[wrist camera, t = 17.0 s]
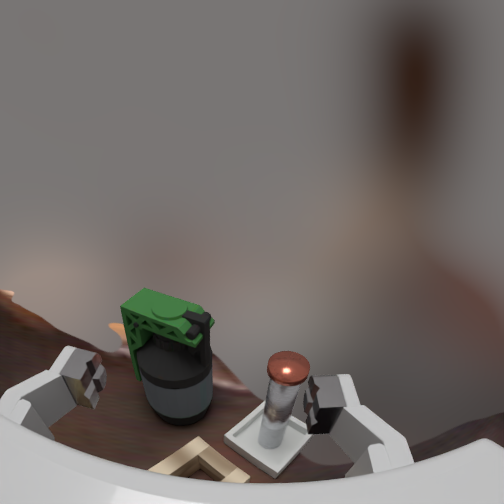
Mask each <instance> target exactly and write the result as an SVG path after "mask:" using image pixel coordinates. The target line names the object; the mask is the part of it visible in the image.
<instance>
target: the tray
mask: <svg viewBox="0 0 504 504" xmlns="http://www.w3.org/2000/svg"><path fill="white" fill-rule="evenodd" d="M265 401H266V400H265ZM265 401H264V402H263V403H262V404H261V405H259V406H258V407H257V408H256V409H255V410H254V411H253V412H251V413H250V414H249V415H248V416H247V417H246V418H244V419H243V420H242V421H241V422H240V423H238V424H237V425H236V426H235V427H233V428H232V429H231V430H230V431H229V432H227V433H226V434H225V435H224V443H225V444H226V445H228V446H229V447H230V448H231V449H233V450H234V451H235V452H237V453H238V454H240V455H241V456H242V457H244V458H245V459H246V460H248V461H249V462H251V463H252V464H254V465H255V466H256V467H258V468H259V469H261V470H262V471H264V472H265V473H267V474H268V475H270V476H271V477H273V478H276V477H277V476H278V475H279V474H280V473H281V472H282V471H283V470H284V469H285V468H286V467H287V466H288V465H289V464H290V463H291V461H292V460H293V459H294V458H295V457H296V456H297V455H298V454H299V453H300V451H301V450H302V449H303V448H304V447H305V446H306V445H307V443H308V442H309V441H310V440H311V439H312V437H313V435H314V434H308V432H307V426H306V424H305V423H303V422H301V421H300V420H298V419H296V418H295V417H293V416H291V417H290V420H289V423H288V426H287V429H286V431H285V434H284V437H283V440H282V443H281V445H280V446H279V447H278V448H275V449H265V448H263V447H262V446H261V445H260V444H259V443H258V435H259V431H260V426H261V421H262V416H263V411H264V406H265Z"/></svg>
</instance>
